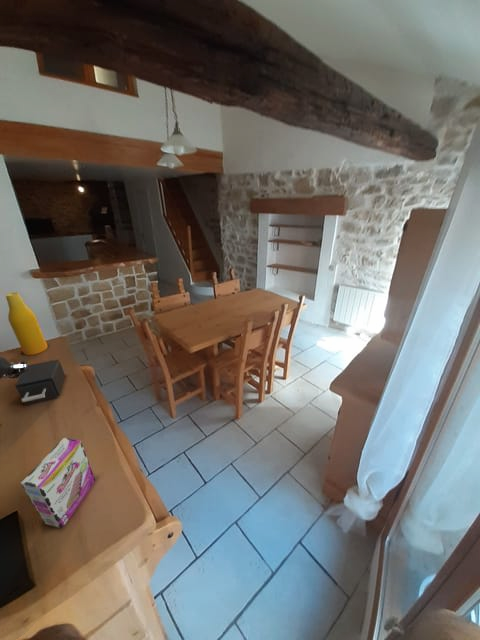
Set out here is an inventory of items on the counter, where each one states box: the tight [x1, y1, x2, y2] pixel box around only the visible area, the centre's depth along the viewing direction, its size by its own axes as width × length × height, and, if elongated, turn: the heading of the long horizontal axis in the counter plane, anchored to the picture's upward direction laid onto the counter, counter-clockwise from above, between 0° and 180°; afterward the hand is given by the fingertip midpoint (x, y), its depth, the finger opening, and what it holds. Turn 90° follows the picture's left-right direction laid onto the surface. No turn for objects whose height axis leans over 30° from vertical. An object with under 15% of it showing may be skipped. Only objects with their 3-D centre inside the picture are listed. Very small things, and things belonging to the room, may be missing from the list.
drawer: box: [16, 380, 59, 407], centre depth 90 cm, size 15×9×8 cm, turn 23°
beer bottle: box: [5, 291, 48, 356], centre depth 112 cm, size 9×9×29 cm
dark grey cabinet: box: [14, 359, 66, 397], centre depth 93 cm, size 12×11×10 cm
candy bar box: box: [20, 437, 96, 529], centre depth 58 cm, size 11×5×16 cm, turn 169°
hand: (16, 374), depth 77 cm, fingers closed
